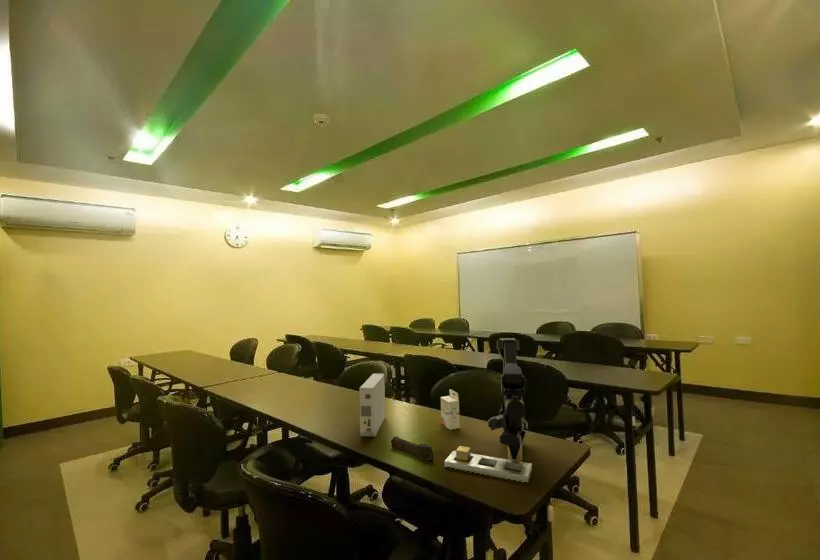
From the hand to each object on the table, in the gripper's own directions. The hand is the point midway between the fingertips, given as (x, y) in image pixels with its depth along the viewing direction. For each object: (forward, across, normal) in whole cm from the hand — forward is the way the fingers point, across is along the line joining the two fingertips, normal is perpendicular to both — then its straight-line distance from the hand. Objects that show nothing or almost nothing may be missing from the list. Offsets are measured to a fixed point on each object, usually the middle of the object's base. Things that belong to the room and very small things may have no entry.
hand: (515, 456), depth 124 cm
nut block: (+1, 0, 0) cm, 1 cm away
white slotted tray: (+1, +10, -7) cm, 12 cm away
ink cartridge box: (+2, -23, -31) cm, 39 cm away
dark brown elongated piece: (+2, +8, -34) cm, 35 cm away
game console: (+2, -10, -61) cm, 62 cm away
